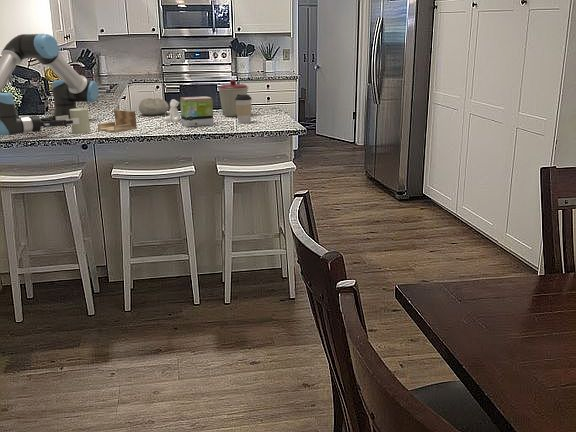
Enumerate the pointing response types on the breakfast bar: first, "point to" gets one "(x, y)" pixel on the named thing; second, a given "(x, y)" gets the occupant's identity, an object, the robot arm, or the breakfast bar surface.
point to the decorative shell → (153, 106)
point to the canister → (231, 97)
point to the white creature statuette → (173, 112)
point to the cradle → (120, 122)
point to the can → (80, 120)
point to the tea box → (196, 111)
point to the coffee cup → (243, 108)
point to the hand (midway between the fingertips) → (73, 119)
